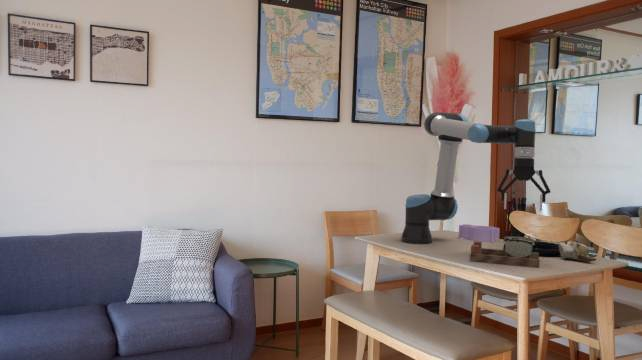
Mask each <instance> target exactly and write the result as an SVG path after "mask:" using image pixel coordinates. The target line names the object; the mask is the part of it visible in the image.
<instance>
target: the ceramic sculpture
mask: <svg viewBox="0 0 642 360" xmlns="http://www.w3.org/2000/svg"><path fill="white" fill-rule="evenodd" d="M558 244H559V251H560V254H561V256H560V257H561V258H562V260H566V259H572V260H573V261H576V260H578V261H577V262H582V261H583V262H593V261H596V260H597V258H596V257H598V255H597V254H592V253H590V251H589V248H588V246H587V245H586V244H583V243H579V240H575V241H571V242H570V243H569V244H568V243H567V244H566V243H564V242H561V241H558Z"/></svg>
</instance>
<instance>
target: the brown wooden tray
mask: <svg viewBox="0 0 642 360" xmlns="http://www.w3.org/2000/svg"><path fill="white" fill-rule="evenodd" d="M482 245H483V242H480V241H473V244H471V246H470V255H469V256H470V259H469V261H470V262H475V263H487V264H497V265H505V266H507V265H508V266H518V267H529V268H530V267H531V268H540V256H539V253H534V252H532V254H531V259H529V258H517V257H506V251H505V249H497V248H496V249H495V248H487V247H486V248H485V247H483V248H482Z"/></svg>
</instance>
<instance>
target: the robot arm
mask: <svg viewBox="0 0 642 360" xmlns="http://www.w3.org/2000/svg"><path fill="white" fill-rule="evenodd" d="M423 127H424V130H425V131H426V133H427V134H429V136H433V137H438V140H437V141H439V142H440V146H439V155H438V161H437V169H436V173H435V174H436V175H435V182H434V189H433V190H432V191H430V194H423V193H422V194H412V195H409V196H407V198H406V200H405V223H404V224H405V226H404V229H403V231H402V233H401V238H400V240H401V242H403V243H407V244H415V245H417V244H418V245H419V244H420V245H422V244H423V245H424V244H432V242H433V236H432V233H431V230H430V221H447V220H451V219H452V218H454V217H455V215H456V214H457V212H458V208H459V207H458V203H457V202H458V201H457V199H456V197H455V194H454V193H453V185H454V178H455V177H454V176H455V172H456V164H457V156H458V150H459V145H460V144H461V143H463V140H468V141H470V142H472V143H476V144H482V143H483V144H498V145H509V144H510V145H511V144H514V157H515V158H514V163H513V165H514V167H513V169H506V170H505V175H504V177H503V178H502V180H501V181H500V183H499V185H498V187H497V189H496V191H497V192H500V194H501V198H500V199H501V202H502V201H503V204H504V205H503V209H504V210H506V209H507V199H508V198H507V195H508V194H507V193H508V192H507V190H509V189H510V187H511V186H512V185H514V183H515V182H516V181H517V180H518V181H526V182H527V181H531V183H533V184H534V185H535V187H536V188H537V189H538V190H539V192H541V194H540V195H539V196H540V197H539V211H540V212H542V211H543V203H546V195H547V194H551V189H550V188H549V185H548V184H547V182H546V180H545V178H544V175H543V170H542V169H540V170H536V169H535V159H534V158H535V149H536V146H535V144H536V131H537V130H536V122H535V120H534V119H518V120H516V121H515V125H490V124H482V123H476V122H475V123H474V122H470V121H469V120H468V119H467V117H466V116H465V115H463V114H461V113H456V112H454V113H453V112H441V111H440V112H432V113H430V114H429V115H428V116H426V118H425V119H424V122H423ZM512 174H513V175H514V178H513V179H512V180H511V181H510V182H509V183H508V184H507V185H506V186H505V187H504V188H503V186H504V184H505V183H506V181H507V179H508V177H509V176H511V175H512ZM535 174H536V176H538V177H539V179H540V180H541V182H542V185H543V186H544V188H545V190H544V189H543V188H542V187H541V185H540V184H539V183H538V182H537V181H536V180H535V178H534V175H535ZM502 188H503V189H502Z"/></svg>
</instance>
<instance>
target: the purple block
mask: <svg viewBox="0 0 642 360" xmlns="http://www.w3.org/2000/svg"><path fill="white" fill-rule="evenodd" d="M500 232H501V231H500V227H494V226H490V225H489V226H487V225H476V224H475V225H474V224H468V223H467V224H459V225H458V239H461V238H463V239H462V240H469V239H470V241H473V242H474V241H480V242H482V243H494V242H500Z"/></svg>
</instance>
